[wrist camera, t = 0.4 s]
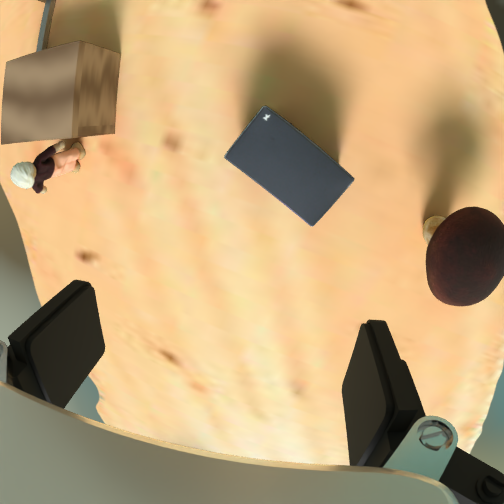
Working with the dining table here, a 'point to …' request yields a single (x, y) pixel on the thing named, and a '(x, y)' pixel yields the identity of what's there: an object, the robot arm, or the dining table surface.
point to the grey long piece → (45, 24)
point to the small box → (289, 165)
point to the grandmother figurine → (47, 166)
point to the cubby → (60, 93)
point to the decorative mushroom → (464, 255)
